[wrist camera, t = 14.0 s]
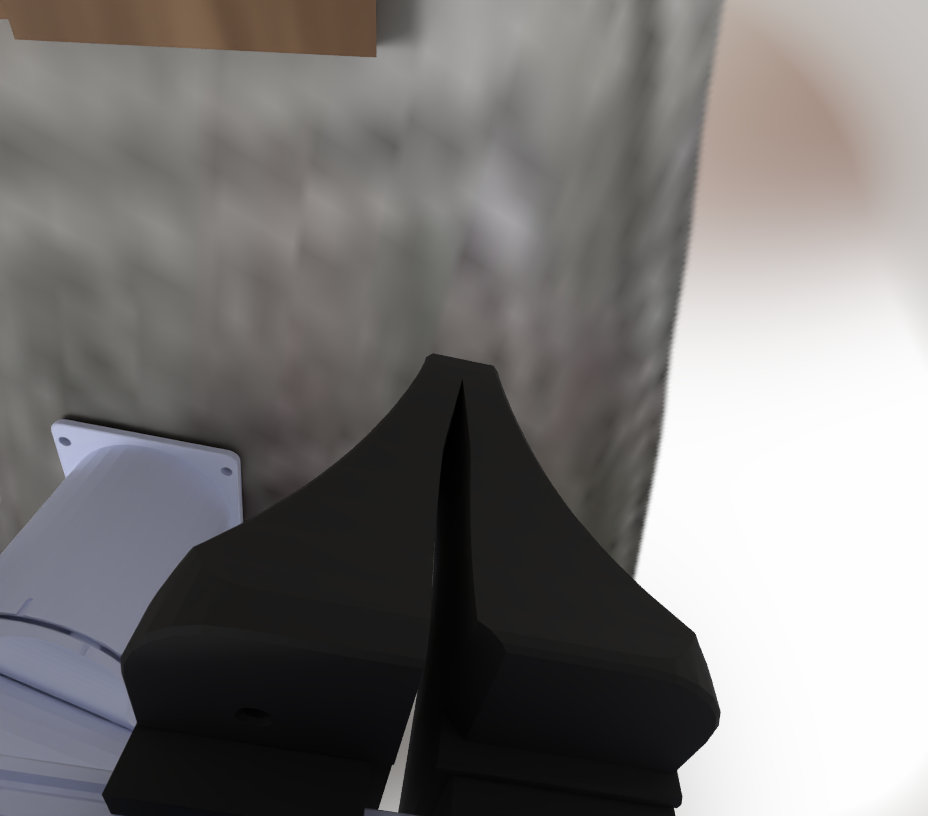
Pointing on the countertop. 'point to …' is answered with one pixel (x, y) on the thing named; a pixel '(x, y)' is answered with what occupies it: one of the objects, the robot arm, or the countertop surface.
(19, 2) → the domino
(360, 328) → the countertop surface
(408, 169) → the countertop surface
